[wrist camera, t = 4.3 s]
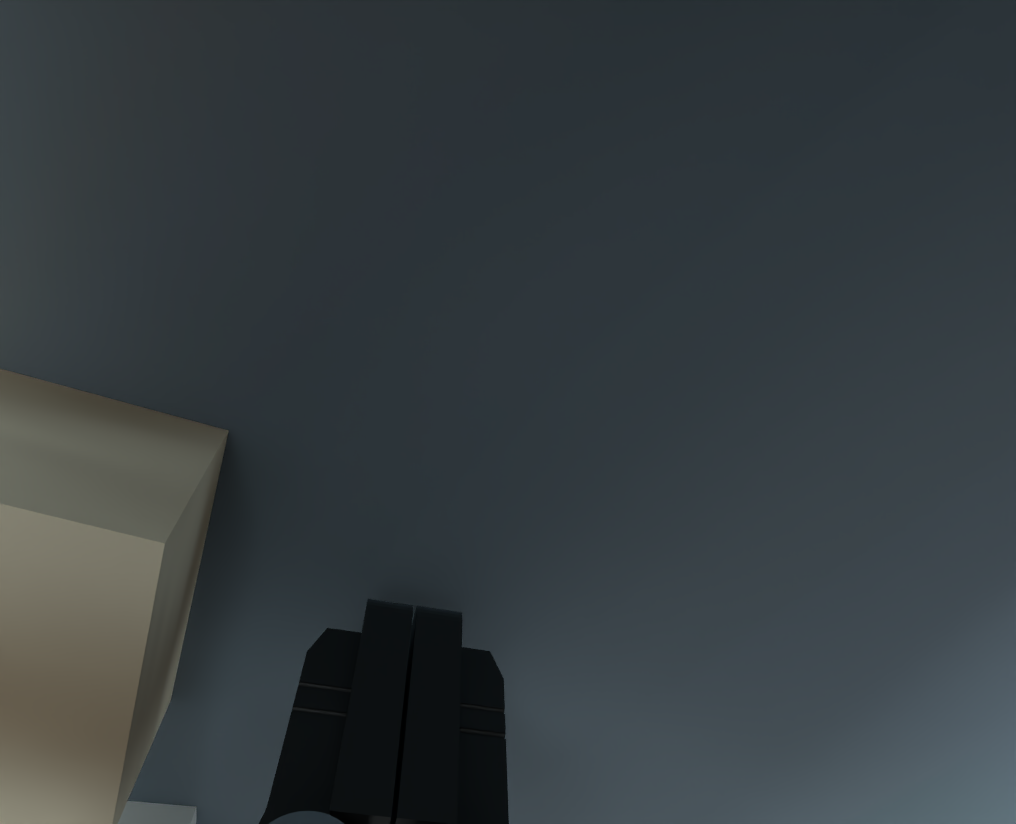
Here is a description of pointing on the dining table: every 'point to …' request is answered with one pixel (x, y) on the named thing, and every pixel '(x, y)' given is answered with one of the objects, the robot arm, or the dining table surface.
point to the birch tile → (92, 590)
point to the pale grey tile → (157, 813)
